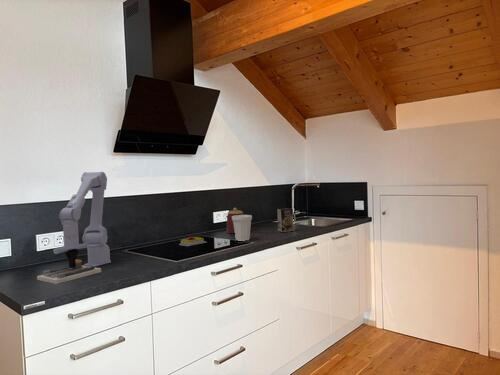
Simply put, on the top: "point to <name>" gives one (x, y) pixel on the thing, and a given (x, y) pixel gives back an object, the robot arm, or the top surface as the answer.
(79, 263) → the breaker lever
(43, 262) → the top surface
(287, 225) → the coffee box
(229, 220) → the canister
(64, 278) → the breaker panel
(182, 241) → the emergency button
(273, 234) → the top surface
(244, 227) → the cup
